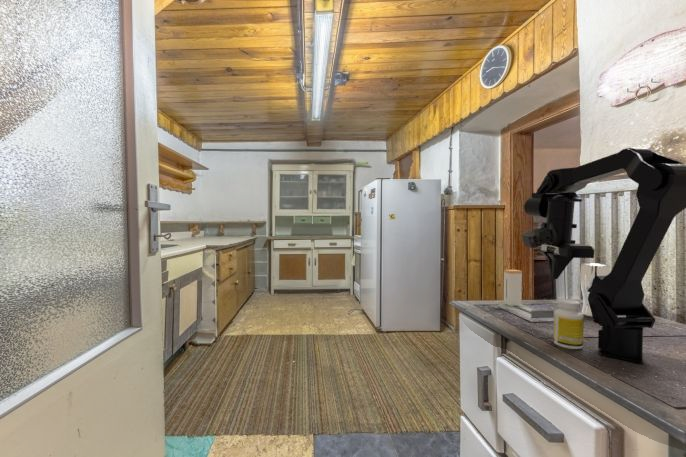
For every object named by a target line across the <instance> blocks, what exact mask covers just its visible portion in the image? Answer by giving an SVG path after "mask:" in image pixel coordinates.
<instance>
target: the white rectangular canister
mask: <svg viewBox="0 0 686 457" xmlns="http://www.w3.org/2000/svg"><path fill="white" fill-rule="evenodd" d="M522 281H523V271H522V270H520V269H504V270H503V304H507V305H509V306H518V305H521V304H522V298H523V297H522V295H523V294H522V292H523V291H522V290H523V289H522V287H523V285H522V284H523V282H522Z"/></svg>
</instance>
